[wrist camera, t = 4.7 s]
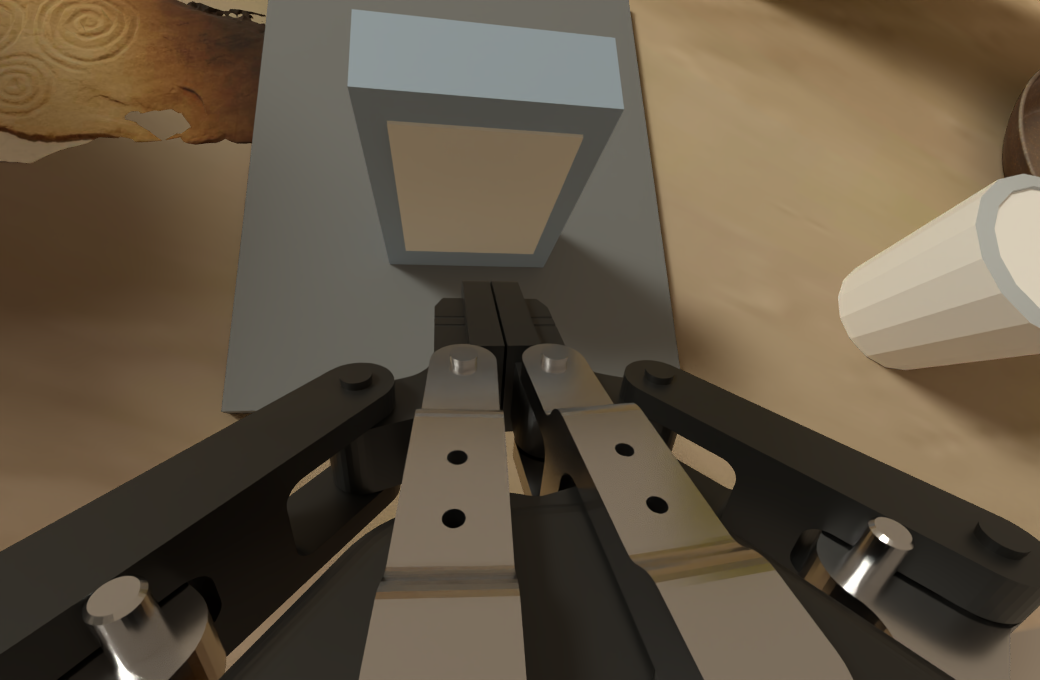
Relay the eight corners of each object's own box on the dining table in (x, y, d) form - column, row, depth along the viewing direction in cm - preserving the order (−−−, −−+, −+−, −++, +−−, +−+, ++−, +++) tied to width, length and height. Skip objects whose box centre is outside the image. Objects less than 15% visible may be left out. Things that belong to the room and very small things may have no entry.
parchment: (-389, 150, 17) (-431, 134, 16) (-292, -62, 19) (-325, -86, 18) (343, 187, 22) (339, 176, 21) (350, 12, 24) (347, -4, 23)
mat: (228, 413, 18) (221, 411, 17) (277, -35, 23) (273, -48, 23) (677, 400, 21) (684, 398, 20) (624, 7, 26) (628, -4, 26)
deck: (389, 266, 20) (347, 89, 11) (390, 216, 20) (351, 9, 11) (543, 269, 21) (624, 112, 12) (540, 222, 21) (615, 37, 12)
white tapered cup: (947, 401, 23) (1154, 372, 16) (820, 356, 23) (980, 308, 16) (948, 278, 25) (1132, 207, 18) (832, 235, 25) (978, 146, 18)
